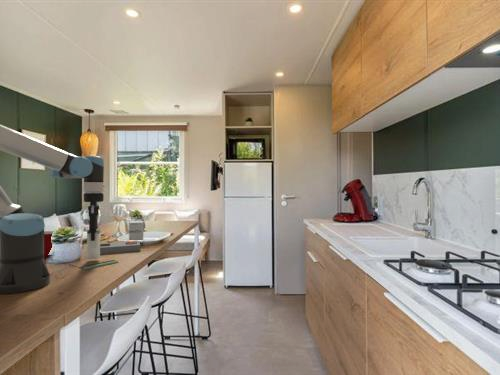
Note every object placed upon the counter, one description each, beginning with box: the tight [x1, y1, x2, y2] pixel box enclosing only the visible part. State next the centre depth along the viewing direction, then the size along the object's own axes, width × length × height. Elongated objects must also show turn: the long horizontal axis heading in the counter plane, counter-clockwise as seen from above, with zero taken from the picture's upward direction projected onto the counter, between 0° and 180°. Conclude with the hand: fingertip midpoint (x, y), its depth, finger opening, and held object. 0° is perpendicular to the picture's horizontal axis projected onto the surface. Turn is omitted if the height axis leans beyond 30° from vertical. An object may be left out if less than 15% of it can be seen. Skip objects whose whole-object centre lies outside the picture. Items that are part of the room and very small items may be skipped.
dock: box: [100, 240, 141, 255], centre depth 147 cm, size 22×12×4 cm, turn 114°
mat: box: [69, 259, 119, 271], centre depth 126 cm, size 14×14×1 cm
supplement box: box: [128, 220, 145, 241], centre depth 169 cm, size 7×7×13 cm
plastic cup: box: [44, 230, 55, 260], centre depth 136 cm, size 11×11×12 cm
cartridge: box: [86, 228, 101, 260], centre depth 126 cm, size 5×5×12 cm
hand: (93, 246), depth 126 cm, fingers closed on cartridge, 5 cm apart
